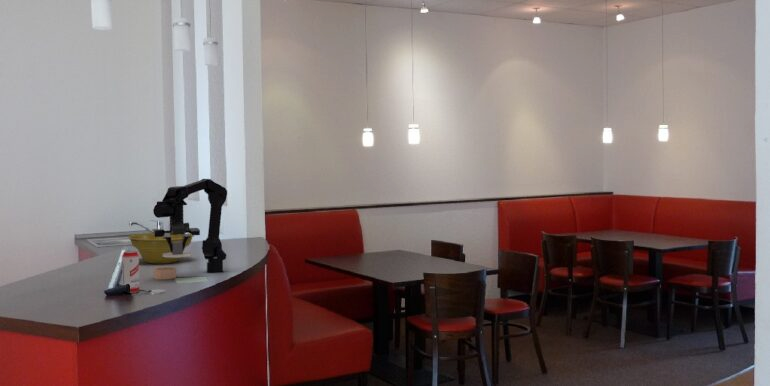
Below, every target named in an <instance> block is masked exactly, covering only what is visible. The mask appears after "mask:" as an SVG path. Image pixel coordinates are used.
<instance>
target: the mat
mask: <svg viewBox="0 0 770 386" xmlns="http://www.w3.org/2000/svg"><path fill="white" fill-rule="evenodd" d="M174 281H175V282H176V284H187V283H188V284H189V283H190V284H191V283H206V282H210V281H209V279H208V278H207V277H206V276H197V277H196V276H195V277H193V276H192V277H181V278H180V277H179V278H178V277H176V278H174Z"/></svg>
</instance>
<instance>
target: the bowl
mask: <svg viewBox="0 0 770 386" xmlns="http://www.w3.org/2000/svg"><path fill="white" fill-rule="evenodd" d="M153 278H154V280H171V279H175V278H177V268H176V267H174V266H173V267H172V266H162V267H161V266H160V267H153Z"/></svg>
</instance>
